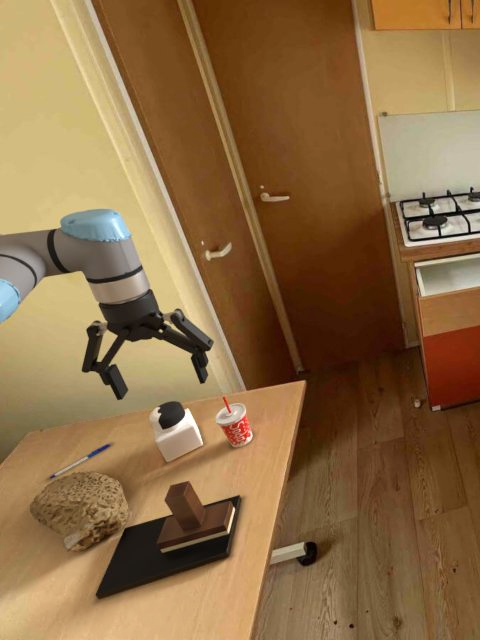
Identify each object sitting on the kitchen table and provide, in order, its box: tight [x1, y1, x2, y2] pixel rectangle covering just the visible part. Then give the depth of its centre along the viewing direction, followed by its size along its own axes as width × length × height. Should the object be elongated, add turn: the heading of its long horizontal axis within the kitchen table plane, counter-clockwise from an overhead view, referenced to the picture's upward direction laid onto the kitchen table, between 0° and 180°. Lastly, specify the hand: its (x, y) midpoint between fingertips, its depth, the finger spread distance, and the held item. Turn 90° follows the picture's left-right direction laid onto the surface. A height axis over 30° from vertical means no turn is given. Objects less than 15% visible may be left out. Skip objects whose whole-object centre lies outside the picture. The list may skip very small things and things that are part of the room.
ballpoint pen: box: [49, 443, 111, 480], centre depth 97 cm, size 10×1×1 cm, turn 147°
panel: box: [94, 494, 243, 600], centre depth 81 cm, size 20×12×2 cm, turn 110°
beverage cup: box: [214, 396, 253, 448], centre depth 99 cm, size 6×6×14 cm
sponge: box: [29, 470, 129, 553], centre depth 85 cm, size 13×8×20 cm
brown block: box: [156, 480, 235, 553], centre depth 79 cm, size 11×5×12 cm, turn 108°
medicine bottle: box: [148, 400, 204, 463], centre depth 98 cm, size 7×7×12 cm
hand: (164, 387), depth 84 cm, fingers open, 13 cm apart
